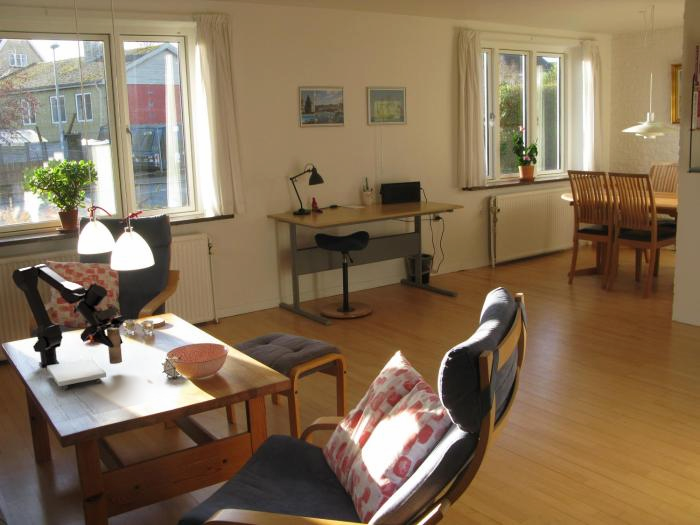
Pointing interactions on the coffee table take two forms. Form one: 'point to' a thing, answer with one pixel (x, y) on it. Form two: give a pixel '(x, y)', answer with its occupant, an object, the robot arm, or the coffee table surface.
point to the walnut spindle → (114, 352)
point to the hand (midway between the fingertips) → (117, 345)
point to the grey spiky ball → (171, 367)
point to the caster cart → (76, 372)
